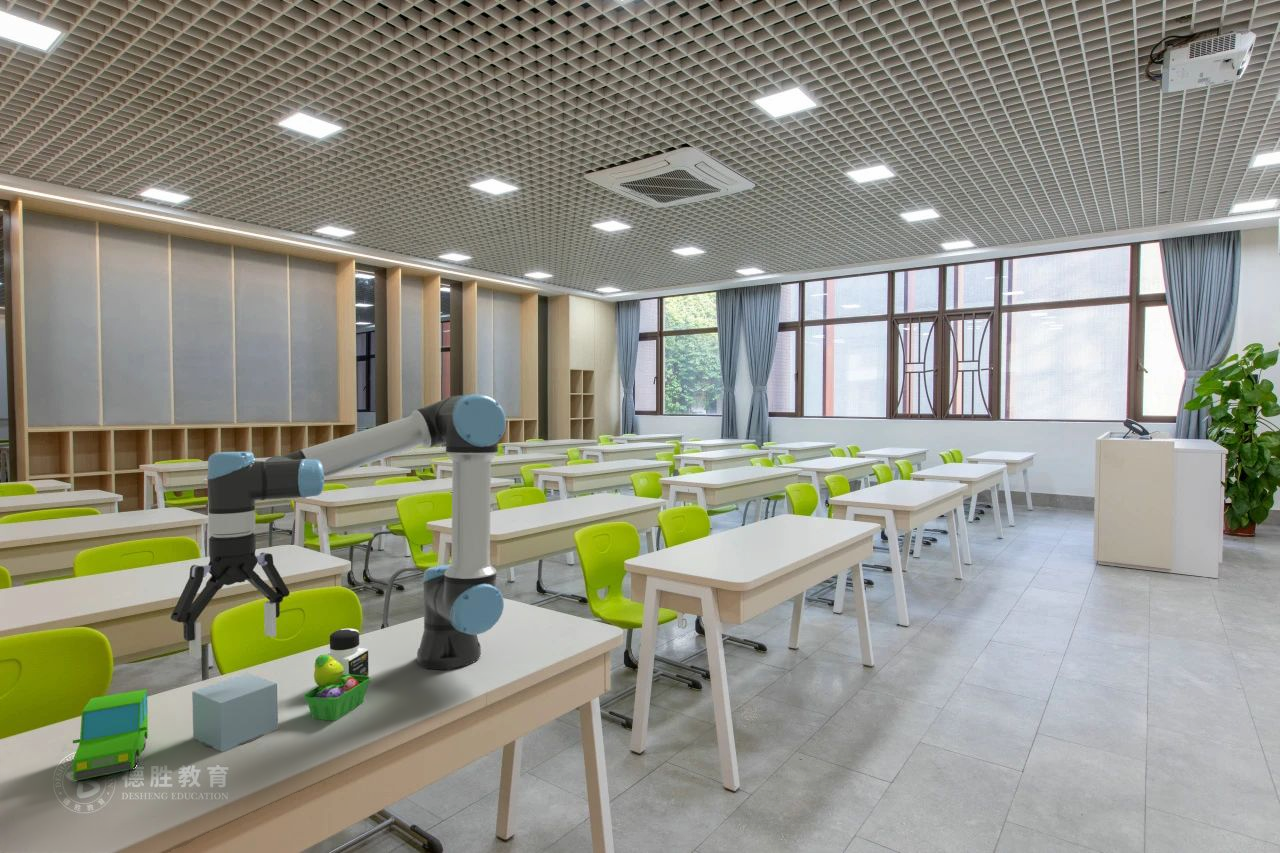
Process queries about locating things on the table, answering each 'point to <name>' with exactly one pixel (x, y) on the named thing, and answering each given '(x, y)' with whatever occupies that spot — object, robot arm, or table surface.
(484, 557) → the robot arm
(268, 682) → the pale blue cube
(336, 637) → the medicine bottle
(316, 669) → the fruit basket
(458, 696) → the table surface
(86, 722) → the toy car
